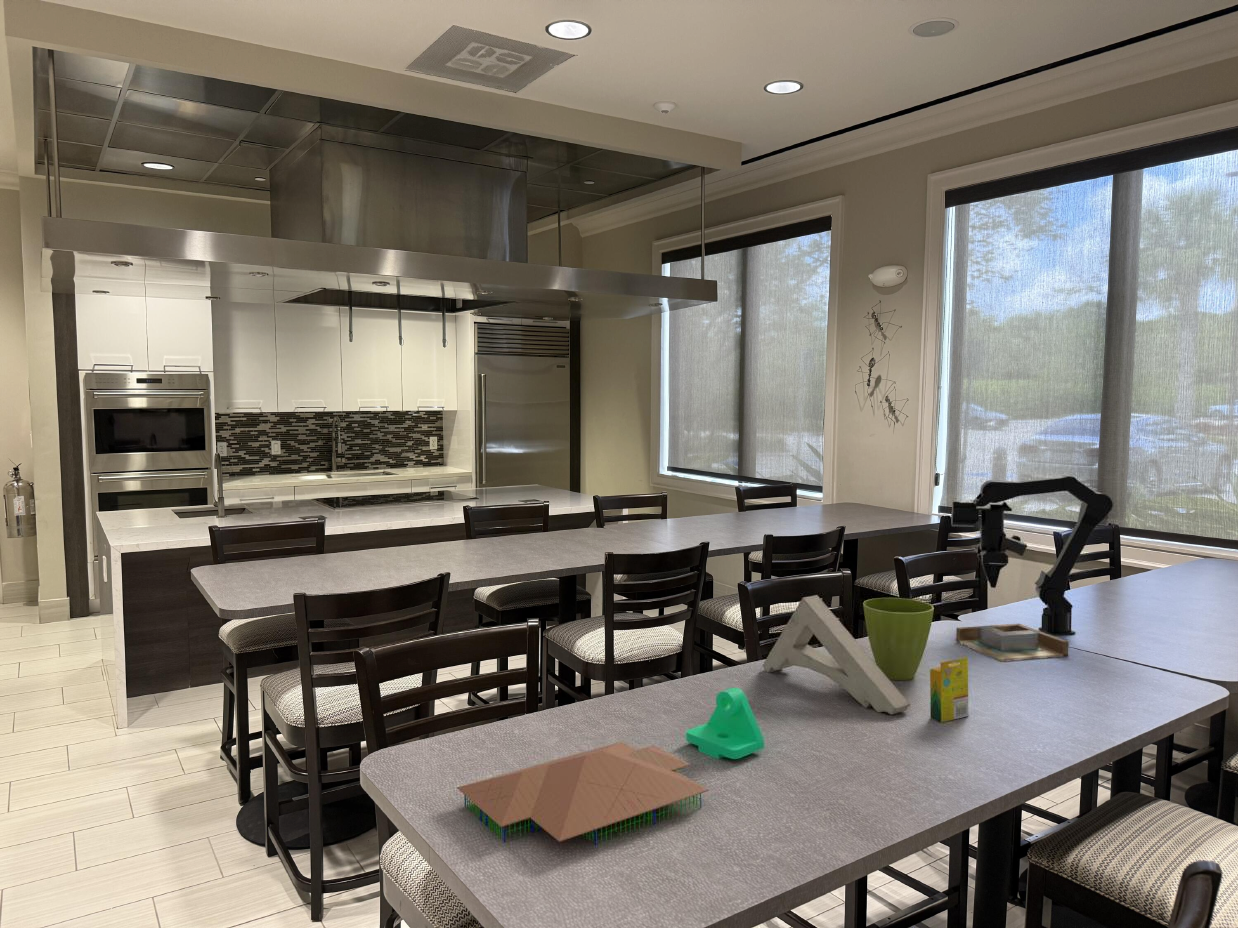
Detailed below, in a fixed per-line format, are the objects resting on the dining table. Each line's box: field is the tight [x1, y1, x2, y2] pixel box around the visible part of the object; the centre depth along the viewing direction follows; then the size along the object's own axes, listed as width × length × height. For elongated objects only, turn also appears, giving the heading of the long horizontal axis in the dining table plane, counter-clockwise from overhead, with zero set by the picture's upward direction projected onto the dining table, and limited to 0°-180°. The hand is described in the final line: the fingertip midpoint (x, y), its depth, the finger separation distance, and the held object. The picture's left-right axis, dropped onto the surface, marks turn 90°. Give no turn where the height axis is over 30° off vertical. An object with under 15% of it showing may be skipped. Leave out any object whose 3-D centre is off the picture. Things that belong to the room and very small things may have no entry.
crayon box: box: [929, 656, 969, 724], centre depth 161 cm, size 7×3×12 cm, turn 115°
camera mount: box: [685, 687, 765, 760], centre depth 147 cm, size 12×8×10 cm, turn 41°
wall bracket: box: [762, 594, 911, 715], centre depth 178 cm, size 22×4×30 cm
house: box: [456, 741, 709, 846], centre depth 126 cm, size 23×33×8 cm
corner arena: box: [955, 623, 1070, 662], centre depth 208 cm, size 18×18×4 cm
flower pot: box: [862, 597, 935, 681], centre depth 187 cm, size 15×15×16 cm
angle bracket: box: [978, 625, 1038, 652], centre depth 207 cm, size 10×9×4 cm
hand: (991, 584), depth 227 cm, fingers open, 9 cm apart
